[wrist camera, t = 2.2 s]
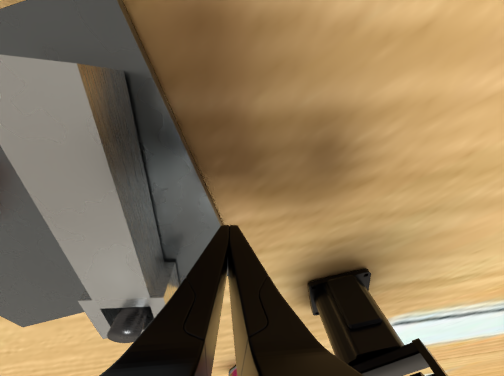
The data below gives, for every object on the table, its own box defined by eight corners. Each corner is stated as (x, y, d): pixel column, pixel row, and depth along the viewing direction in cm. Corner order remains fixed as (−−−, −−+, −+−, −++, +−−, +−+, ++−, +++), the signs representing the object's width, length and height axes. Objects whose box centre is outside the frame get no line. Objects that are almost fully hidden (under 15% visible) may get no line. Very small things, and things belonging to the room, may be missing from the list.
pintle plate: (242, 266, 17) (244, 322, 13) (29, 320, 18) (-31, 388, 14) (113, -19, 7) (-33, -149, 3) (-330, 130, 8) (-865, 170, 4)
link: (181, 298, 17) (172, 334, 14) (122, 301, 16) (102, 338, 14) (143, 73, 8) (106, 66, 6) (12, 58, 7) (-94, 43, 5)
